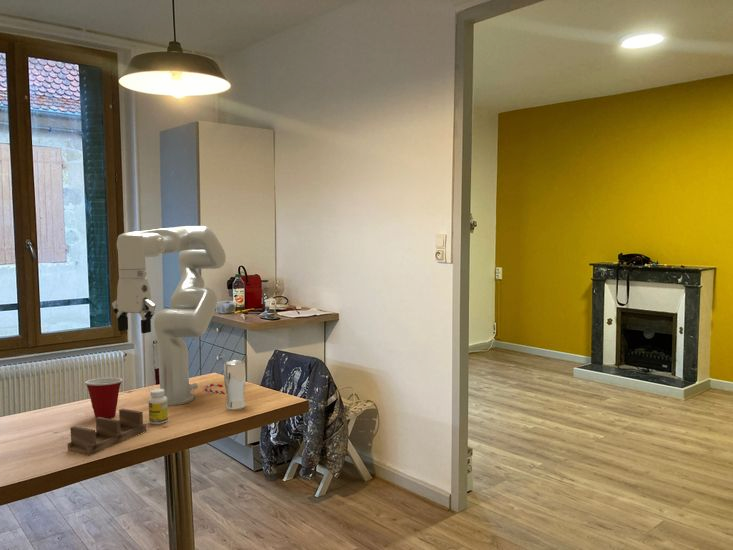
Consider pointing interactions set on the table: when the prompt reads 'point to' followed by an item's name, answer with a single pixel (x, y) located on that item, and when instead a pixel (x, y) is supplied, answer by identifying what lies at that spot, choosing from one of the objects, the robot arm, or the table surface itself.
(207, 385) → the candy cane
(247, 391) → the table surface
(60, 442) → the table surface
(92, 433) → the rack
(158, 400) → the supplement bottle
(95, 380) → the plastic cup
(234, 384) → the beer glass
